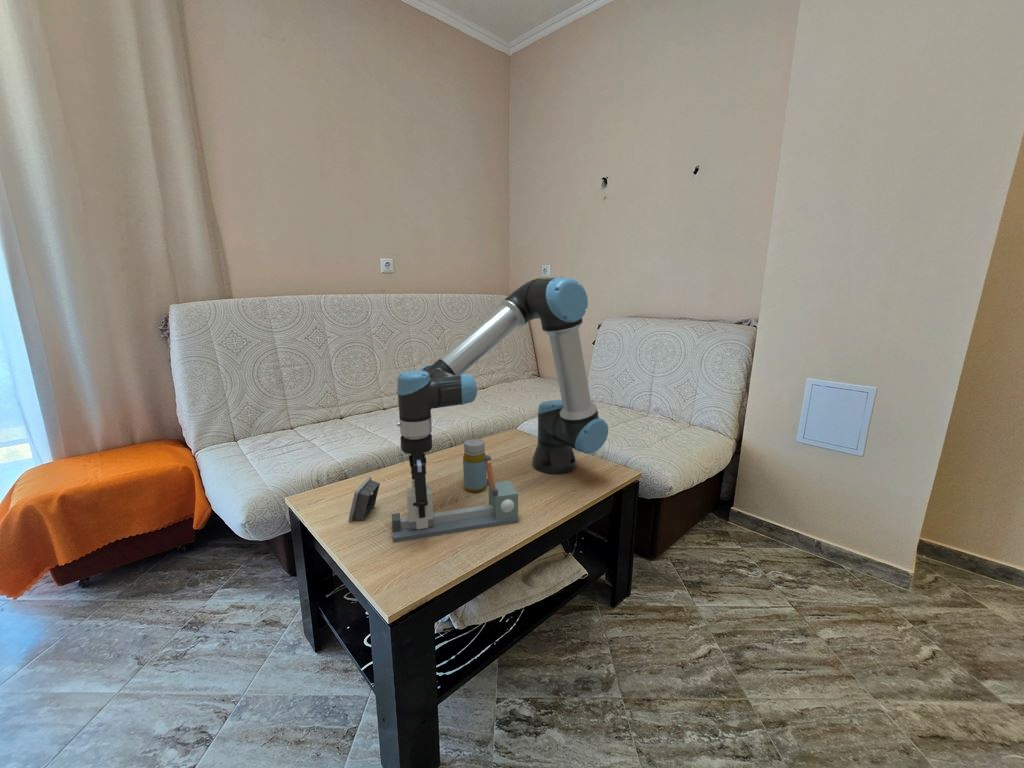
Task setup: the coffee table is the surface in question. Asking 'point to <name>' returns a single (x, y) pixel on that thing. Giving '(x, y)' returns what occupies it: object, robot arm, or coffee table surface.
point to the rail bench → (449, 528)
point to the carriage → (412, 510)
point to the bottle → (474, 465)
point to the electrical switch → (364, 499)
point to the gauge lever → (489, 471)
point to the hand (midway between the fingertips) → (420, 514)
